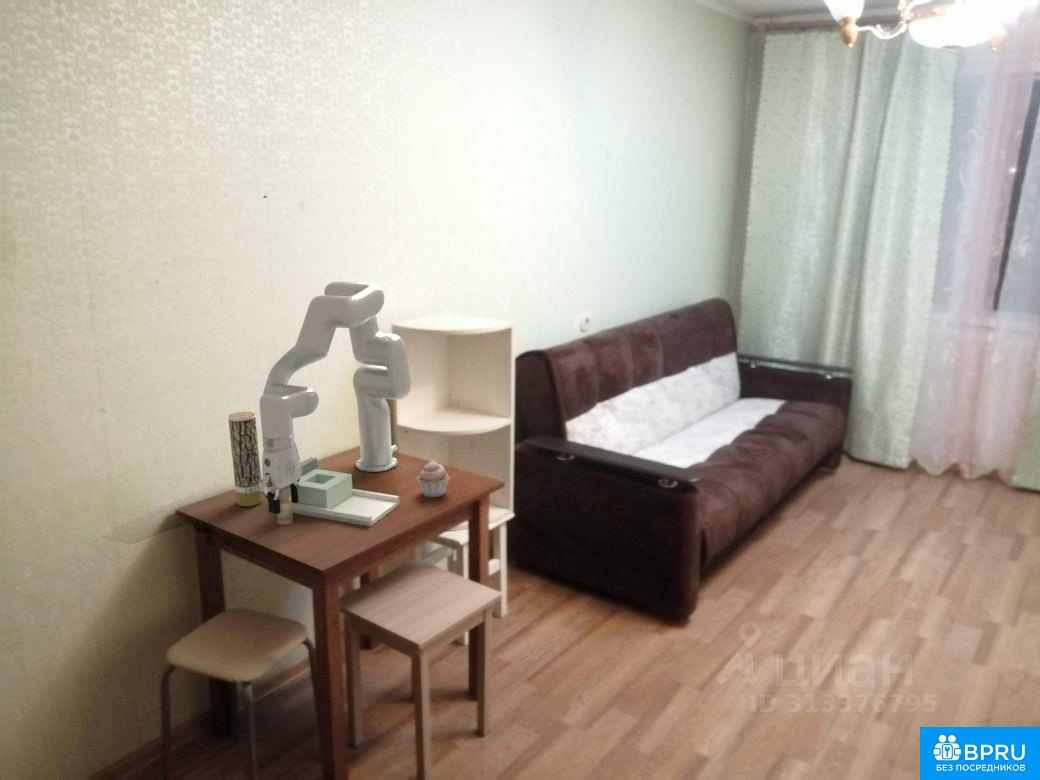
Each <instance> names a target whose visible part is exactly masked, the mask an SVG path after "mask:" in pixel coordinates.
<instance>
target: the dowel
mask: <svg viewBox="0 0 1040 780" xmlns="http://www.w3.org/2000/svg"><path fill="white" fill-rule="evenodd" d="M274 490H275V489H273V491H274ZM277 499H280V510H281V513H280V514H275V515H276V523H277V525H280V526H286V525H289V524H292V523H294V513H293V512H292V501H291V490H290V485H288V486H287V487H285V488H283V489H280V490H279V494H278V498H277Z"/></svg>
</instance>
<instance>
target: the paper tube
mask: <svg viewBox="0 0 1040 780" xmlns="http://www.w3.org/2000/svg"><path fill="white" fill-rule="evenodd" d="M227 416H228V426H229V427H228V428H229V436H230V437H229V439H230V448H231V456H232V457H231V458H232V467H233V469H232V470H233V479H234V485H235V486H234V487H235V496H236V504H238V505H239V506H241V507H254V506H257V505H260V504H261V503H262V502H263V500H264V495H263V494H262V493H261V492H260V491H259V489H260V487H261V485H262V483H263V482H262V473H261V472H262V471H261V464H260V463H261V462H260V452H259V450H260V449H259V440H258V439H259V438H258V430H257V417H256V413H255V412H253V411H240V412H235V413H234V412H233V413H231V414H228V415H227Z"/></svg>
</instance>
